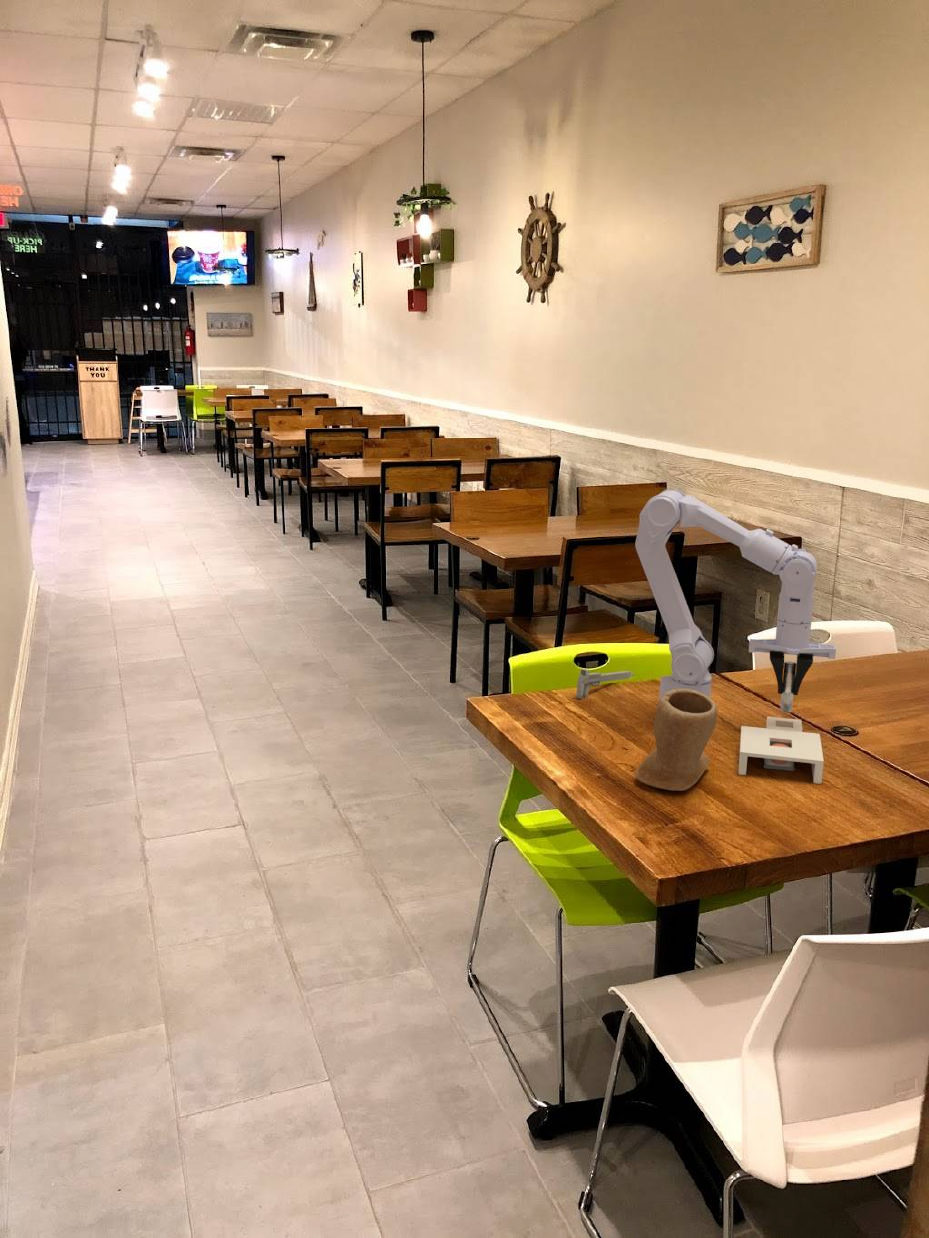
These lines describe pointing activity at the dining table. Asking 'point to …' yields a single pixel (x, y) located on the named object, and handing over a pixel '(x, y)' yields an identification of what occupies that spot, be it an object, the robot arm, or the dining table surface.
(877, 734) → the dining table surface
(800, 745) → the white slotted stand
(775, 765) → the button
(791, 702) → the stylus
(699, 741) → the stone cup
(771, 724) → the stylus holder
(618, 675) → the caliper
